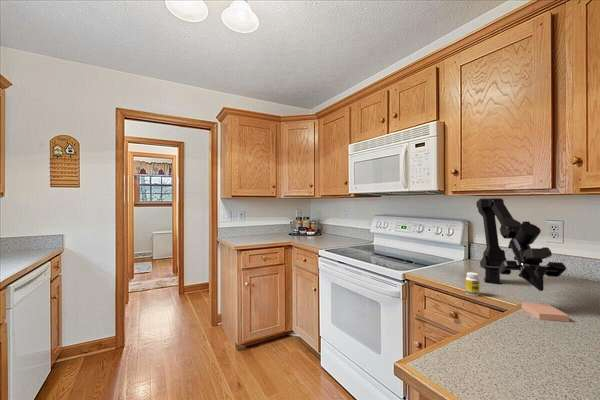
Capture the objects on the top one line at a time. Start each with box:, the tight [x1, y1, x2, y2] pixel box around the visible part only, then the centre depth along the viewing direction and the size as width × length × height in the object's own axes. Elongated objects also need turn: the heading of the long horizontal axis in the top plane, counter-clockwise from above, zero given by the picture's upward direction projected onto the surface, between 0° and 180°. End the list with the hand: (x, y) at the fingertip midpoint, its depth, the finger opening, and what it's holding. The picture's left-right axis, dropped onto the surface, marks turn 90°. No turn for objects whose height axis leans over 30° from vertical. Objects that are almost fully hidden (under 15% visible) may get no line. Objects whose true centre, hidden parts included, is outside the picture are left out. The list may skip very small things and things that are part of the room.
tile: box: [521, 301, 570, 323], centre depth 92 cm, size 2×8×10 cm
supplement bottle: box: [465, 271, 480, 297], centre depth 112 cm, size 5×5×8 cm
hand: (541, 290), depth 94 cm, fingers closed
